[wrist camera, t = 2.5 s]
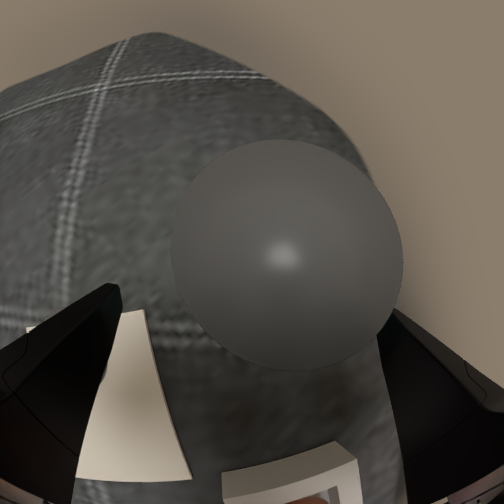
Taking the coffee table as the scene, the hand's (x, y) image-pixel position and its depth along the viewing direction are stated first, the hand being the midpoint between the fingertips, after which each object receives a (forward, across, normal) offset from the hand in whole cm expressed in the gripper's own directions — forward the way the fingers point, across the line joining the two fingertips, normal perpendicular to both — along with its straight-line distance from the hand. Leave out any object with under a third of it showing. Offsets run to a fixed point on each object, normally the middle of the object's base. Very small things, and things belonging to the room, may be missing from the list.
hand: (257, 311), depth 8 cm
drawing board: (+1, +9, +11) cm, 14 cm away
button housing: (-4, -5, +16) cm, 17 cm away
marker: (+7, 0, +6) cm, 9 cm away
